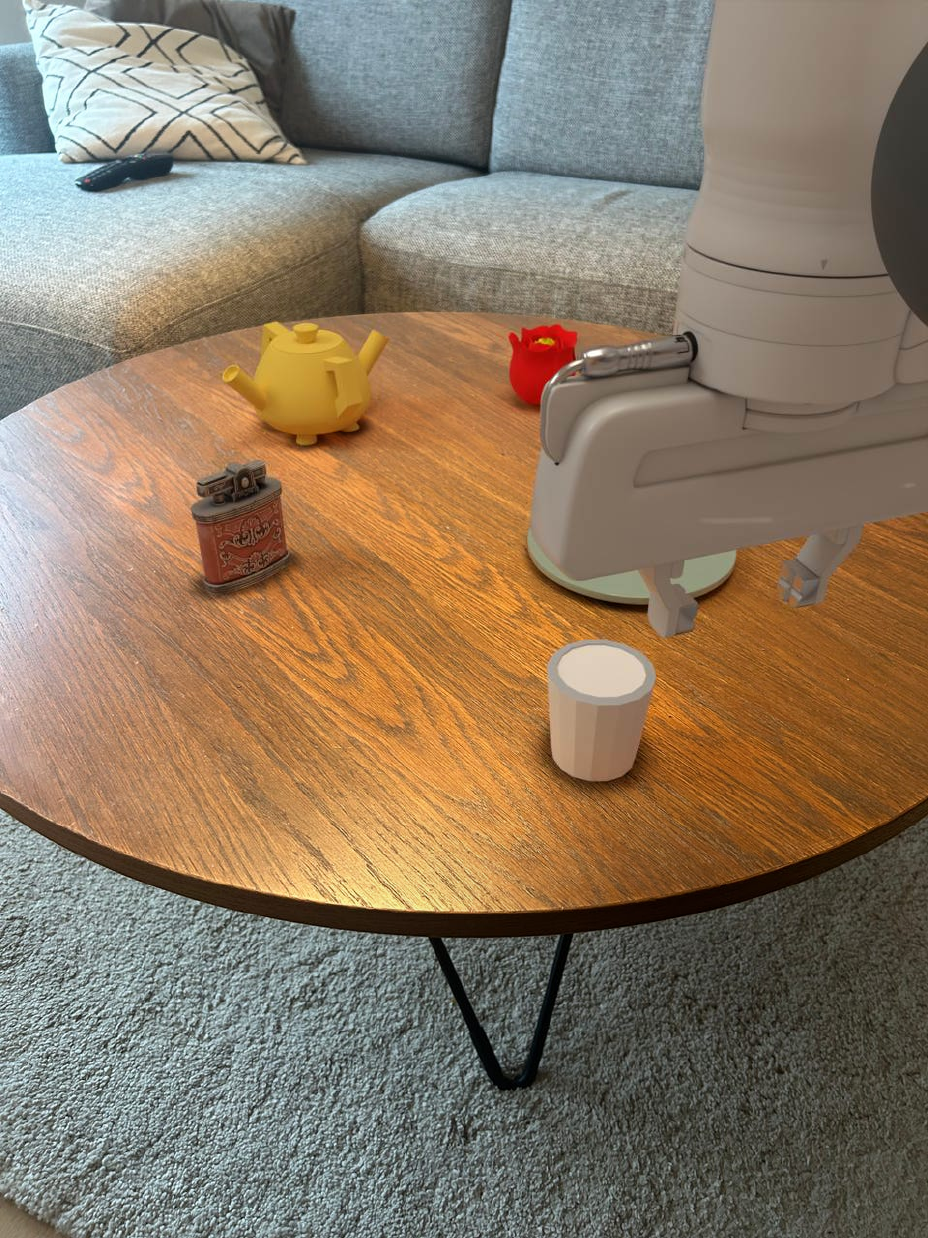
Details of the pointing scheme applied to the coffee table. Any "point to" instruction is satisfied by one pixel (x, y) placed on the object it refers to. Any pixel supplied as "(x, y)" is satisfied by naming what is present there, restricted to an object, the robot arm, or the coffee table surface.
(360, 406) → the teapot
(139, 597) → the coffee table surface
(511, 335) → the flower
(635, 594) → the plate
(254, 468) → the lighter
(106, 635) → the coffee table surface
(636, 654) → the shot glass
